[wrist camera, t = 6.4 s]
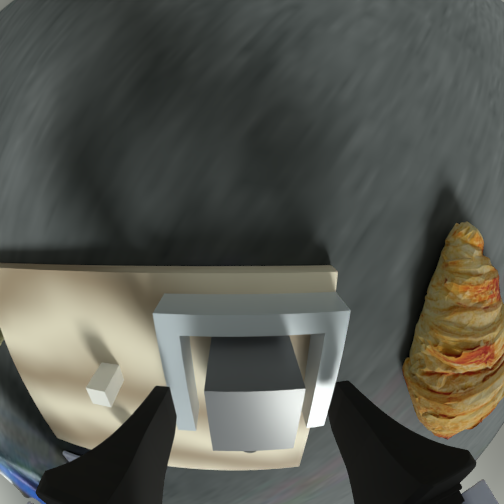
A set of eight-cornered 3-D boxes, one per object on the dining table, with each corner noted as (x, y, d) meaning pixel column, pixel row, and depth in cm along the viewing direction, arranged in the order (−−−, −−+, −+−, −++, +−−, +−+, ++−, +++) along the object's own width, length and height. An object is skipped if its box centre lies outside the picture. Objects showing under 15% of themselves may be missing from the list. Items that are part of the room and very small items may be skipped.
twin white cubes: (145, 435, 15) (137, 459, 13) (130, 432, 15) (121, 456, 13) (119, 364, 13) (104, 391, 11) (101, 362, 13) (85, 387, 11)
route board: (297, 457, 18) (298, 466, 17) (61, 431, 17) (57, 438, 16) (331, 265, 13) (338, 271, 12) (-9, 262, 12) (-17, 266, 11)
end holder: (315, 402, 15) (323, 425, 13) (183, 405, 14) (178, 429, 12) (335, 291, 13) (350, 310, 11) (164, 293, 12) (152, 313, 10)
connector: (276, 427, 15) (285, 482, 11) (220, 428, 15) (218, 484, 10) (287, 325, 13) (307, 388, 9) (212, 326, 13) (202, 391, 8)
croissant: (380, 225, 17) (383, 287, 10) (506, 191, 12) (570, 231, 5) (407, 413, 22) (400, 477, 15) (491, 394, 17) (498, 456, 10)
